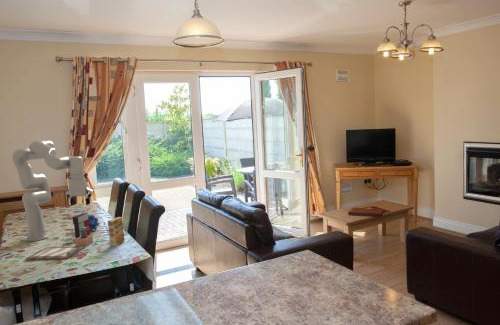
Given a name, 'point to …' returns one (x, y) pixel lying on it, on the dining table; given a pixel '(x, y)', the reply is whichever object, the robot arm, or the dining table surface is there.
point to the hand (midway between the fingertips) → (80, 204)
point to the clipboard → (55, 253)
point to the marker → (83, 232)
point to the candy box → (116, 231)
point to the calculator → (81, 224)
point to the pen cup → (84, 241)
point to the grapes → (92, 222)
